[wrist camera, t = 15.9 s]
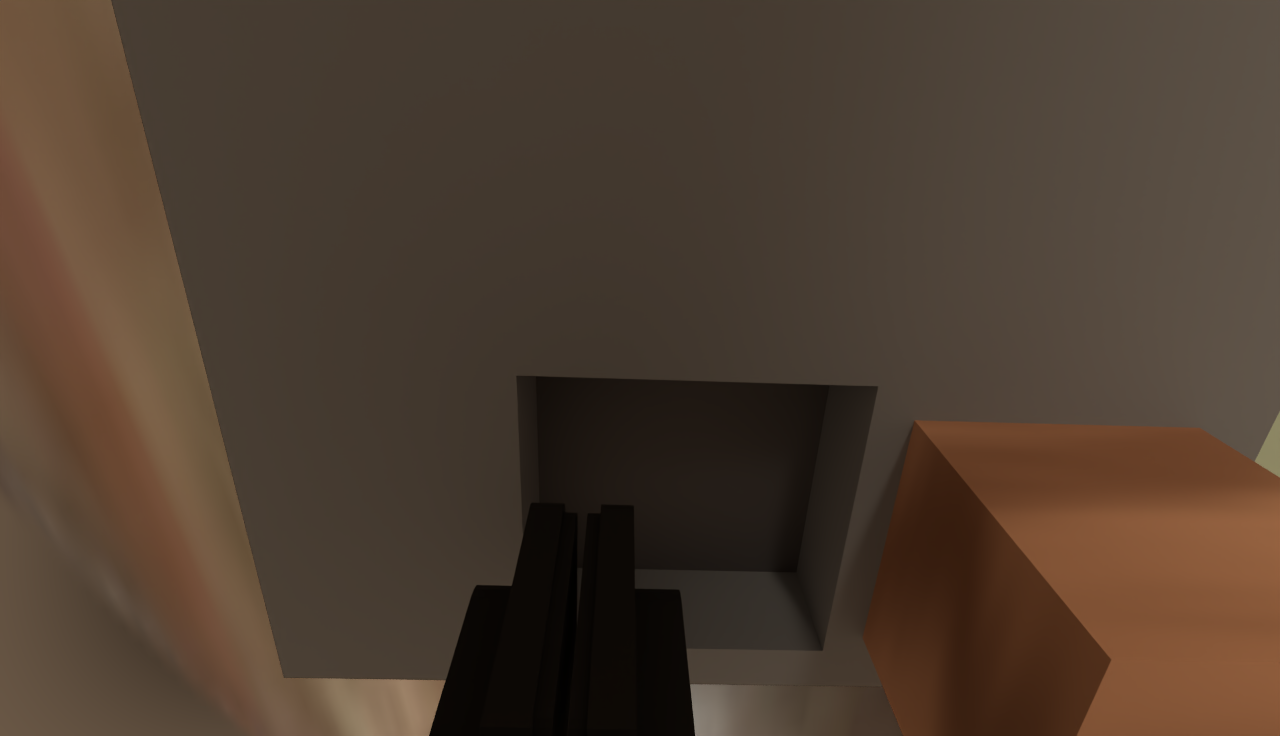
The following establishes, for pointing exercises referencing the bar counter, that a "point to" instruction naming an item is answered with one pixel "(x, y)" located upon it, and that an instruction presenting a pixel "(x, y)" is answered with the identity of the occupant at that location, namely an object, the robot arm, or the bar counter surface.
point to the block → (1079, 584)
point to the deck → (690, 281)
